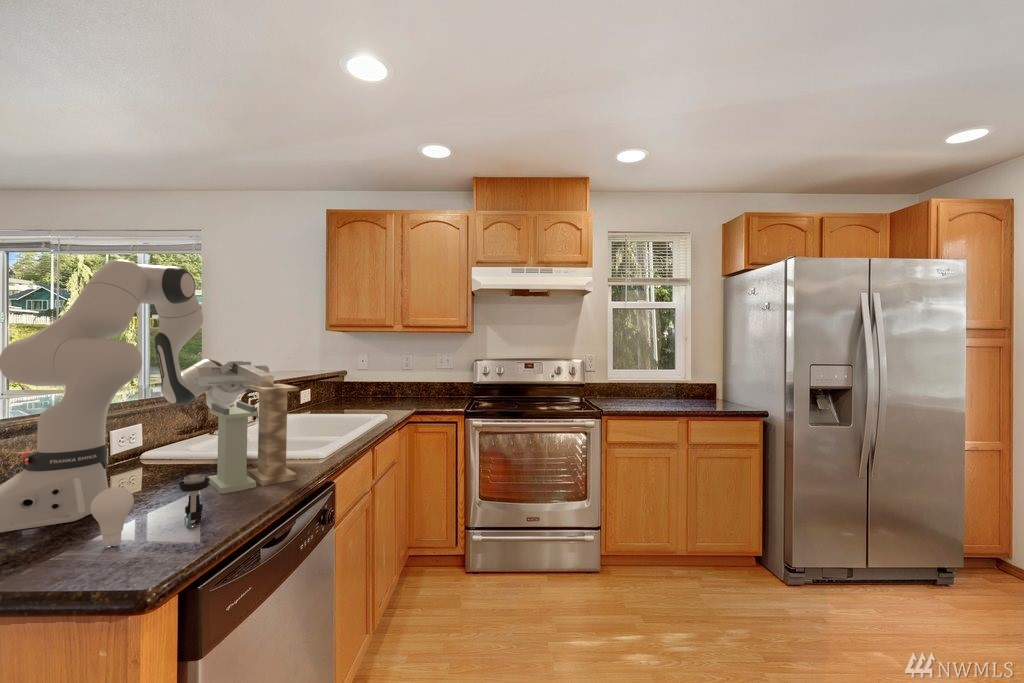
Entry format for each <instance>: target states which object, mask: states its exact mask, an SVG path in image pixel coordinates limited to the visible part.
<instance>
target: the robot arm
mask: <svg viewBox="0 0 1024 683" xmlns="http://www.w3.org/2000/svg"><path fill="white" fill-rule="evenodd" d="M195 293H196V281H195V278H194V276H193V275H192V273H191V272H189V271H188V269H186V268H184V267H180V266H175V265H170V266H165V265H156V264H155V265H154V264H149V263H148V264H147V263H146V264H144V263H143V264H138V263H135V262H132V261H130V260H126V259H113V260H109V261H108V262H106V263H105V264H104V265H102V267H100V268H99V269H98V270H97V271H96V272H95V273H94V274H93V275H92V277H91V278H90V279H89V280H88V281H87V283H86V284H85V286H84V287H83V288H82V291H80V294H79V295H78V296H77V297H76V299H75V300H74V302H73V303H72V305H71V306H70V307H69V309H67V311H66V312H65V313H63V314H62V315H61V316H59V318H57V319H56V320H54V321H53V322H51V323H50V324H49V325H46V327H44V328H42V329H41V330H39V331H38V332H35V333H34V334H30V335H29V336H27V337H24V338H22V339H19V340H16V341H12V342H10V343H9V344H8V345H7V346H5V348H4V349H3V350H2V351H1V353H0V372H1V373H2V375H3V377H4V378H6V380H8V381H10V382H13V383H17V384H23V385H29V386H34V387H35V386H36V387H65V392H64V394H63V396H62V398H61V400H60V401H59V402H58V403H57V404H55V405H52V406H50V407H48V408H46V409H45V410H44V411H42V412H41V414H40V415H39V417H38V418H37V431H36V432H37V434H36V437H37V438H36V439H37V440H36V450H35V451H31V450H27V451H24V452H23V453H21V455H20V460H21V461H22V471H20V472H18V473H17V474H16V475H14V476H13V477H11V478H9V479H8V480H6V481H5V482H3V483H2V484H0V533H6V532H12V531H20V530H25V529H32V528H38V527H39V528H40V527H45V526H51V525H57V524H63V523H65V524H66V523H71V522H75V521H78V520H81V519H83V518H85V517H86V516H89V515H92V514H91V510H90V507H91V503H92V501H93V499H94V498H95V497H96V496H97V495H98V494H99V493H100V492H102V491H104V490H106V489H109V488H110V487H109V484H108V479H107V478H108V477H107V467H108V464H109V447H108V444H107V443H106V428H107V426H106V425H107V416H108V411H109V408H110V405H111V404H112V401H113V400H114V398H115V397H116V395H117V393H118V392H119V391H121V389H122V388H124V386H126V385H127V384H129V383H130V382H132V381H134V379H136V377H137V376H138V375H139V374H140V372H141V369H142V366H143V357H142V355H141V352H140V351H139V349H138V347H137V346H135V345H134V344H133V343H132V342H127V341H122V340H119V339H118V340H117V339H114V338H115V337H118V336H119V335H121V334H123V333H124V332H125V331H126V330H127V328H128V327H129V326H130V323H131V321H132V320H133V319H134V316H135V314H136V312H137V311H138V308H139V306H140V305H141V304H146V305H147V304H148V305H154V308H155V310H156V313H157V316H158V320H159V321H158V323H159V324H158V330H157V333H156V335H155V336H154V348H155V354H156V359H157V364H158V369H159V374H160V379H161V380H160V381H161V382H160V385H161V386H160V389H161V390H160V391H161V394H162V396H163V397H164V399H165V400H166V401H167V402H168V403H169V404H171V405H176V406H187V405H188V404H190V403H191V402H193V401H194V400H196V398H198V397H200V396H201V395H203V394H204V393H205V397H206V398H205V400H206V401H205V402H206V406H207V407H208V409H211V408H212V403H217V404H219V405H222V406H224V407H227V408H229V407H232V405H233V404H234V403H236V402H237V401H236V400H237V399H238V396H240V395H243V394H245V393H250V392H255V390H251V389H248V385H256V384H254V383H252V382H250V381H248V380H246V379H244V378H243V377H241V376H239V375H237V374H235V373H233V372H231V371H230V369H232V368H233V362H230V361H227V362H226V364H222V363H220V362H219V361H217V360H213V359H210V358H203V359H201V360H199V361H198V362H196V363H194V364H192V365H191V366H189V367H187V368H185V369H183V370H182V371H181V366H180V361H179V353H180V351H181V350H182V348H184V346H185V345H186V344H187V342H188V341H189V340H191V338H192V337H194V336H195V335H196V334H197V333H198V332H199V331H200V329H201V327H202V325H203V322H204V314H203V311H202V308H201V305H200V303H199V299H198V298H197V295H196V294H195ZM244 362H245V363H247V364H250V365H252V361H244ZM253 366H254V367H256V368H258V369H260V370H263V371H265V372H267V373H269V374H271V373H270V368H269V367H268V366H267V365H253Z"/></svg>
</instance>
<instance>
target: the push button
mask: <svg viewBox="0 0 1024 683" xmlns="http://www.w3.org/2000/svg"><path fill="white" fill-rule="evenodd" d="M209 481H210V479H209V478H208V477H206V475H205V474H203V473H195V474H189V475H186V476H184V479H182V480H181V481H179V482H178V486H179V490H180V491H181V492H183V493H185V494H188V502H187V505H186V506H185V507H184V513H185V517H184V525H187V528H188V527H189V529H193V528H196V527H198V526H199V523H198V522H200V521H202V519H203V510H204V508H203V507H204V504H202V503H201V499H200V498H201V497H200V496H201V495H200V492H202V491H204V490H205V489H207V488H208V487H209ZM201 518H202V519H201ZM186 523H187V524H186ZM197 525H198V526H197ZM192 526H193V527H192ZM195 526H196V527H195Z"/></svg>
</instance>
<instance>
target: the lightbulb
mask: <svg viewBox="0 0 1024 683" xmlns="http://www.w3.org/2000/svg"><path fill="white" fill-rule="evenodd" d="M108 488H109V489H106V490H104V491H102V492H100V493H99V494H98V495H97V496H96V497H95V498H94V499H93V501H92V503H91V507H90V510H91V514H90V515H92V517H93V519H95V520H96V522H97V524H98V525H99V528H100V535H101V536H102V537H101V538H102V545H103V546H104V547H108V546H114V545H115V546H116V545H118V544H120V542H121V540H122V533H123V531H124V524H125V521H126V519H127V517H128V515H129V514H130V513H131V510H132V508H133V506H134V503H135V498H134V494H133V493H132V492H131V491H130V490H128V489H127V488H124V487H120V486H117V487H115V486H114V487H108ZM115 546H114V547H115Z"/></svg>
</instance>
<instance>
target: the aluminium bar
mask: <svg viewBox="0 0 1024 683" xmlns="http://www.w3.org/2000/svg"><path fill="white" fill-rule="evenodd" d="M229 362H233V368H232V369H230V371H231V372H233V373H235V374H237V375H239V376H241V377H243V378H244V379H246V380H248V381H250V382H252V383H254V384H256V385H258V386H260V387H265V386H273V384H275V383H274V382H275V381H274V380H275V376H274V375H273V374H271V373H270V372H269V373H270V374H269V373H267V372H265V371H263V370H260V369H258V368H256V367H254V366H255V365H252V364H251V365H250V364H247V363H245V362H246V361H243V360H241V361H240V360H239V361H238V360H237V361H234V360H233V361H229Z"/></svg>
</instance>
